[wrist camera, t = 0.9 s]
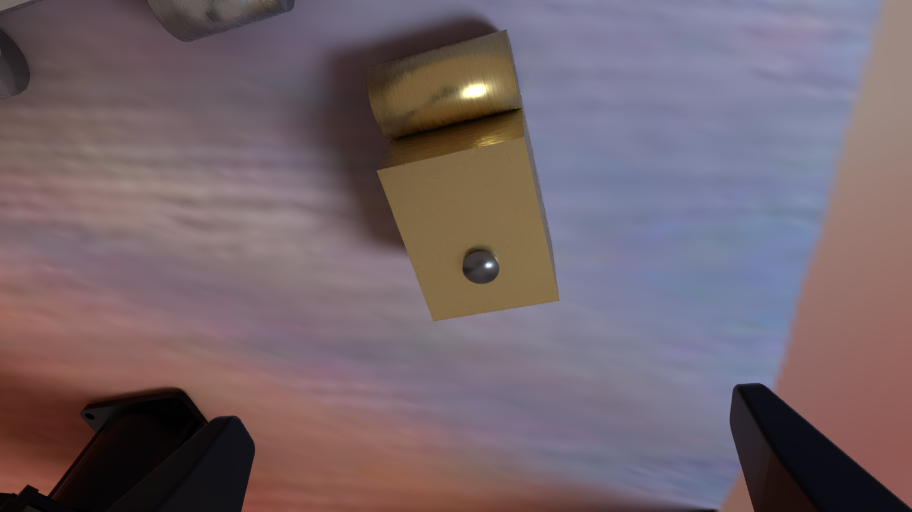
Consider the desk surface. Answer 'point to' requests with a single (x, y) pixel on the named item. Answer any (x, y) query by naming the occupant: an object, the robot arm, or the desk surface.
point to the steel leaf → (175, 6)
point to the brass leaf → (464, 177)
